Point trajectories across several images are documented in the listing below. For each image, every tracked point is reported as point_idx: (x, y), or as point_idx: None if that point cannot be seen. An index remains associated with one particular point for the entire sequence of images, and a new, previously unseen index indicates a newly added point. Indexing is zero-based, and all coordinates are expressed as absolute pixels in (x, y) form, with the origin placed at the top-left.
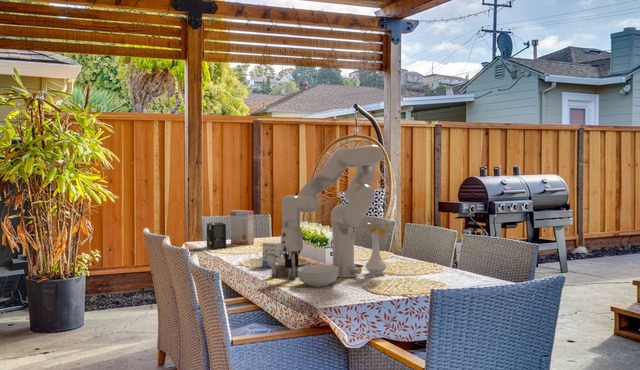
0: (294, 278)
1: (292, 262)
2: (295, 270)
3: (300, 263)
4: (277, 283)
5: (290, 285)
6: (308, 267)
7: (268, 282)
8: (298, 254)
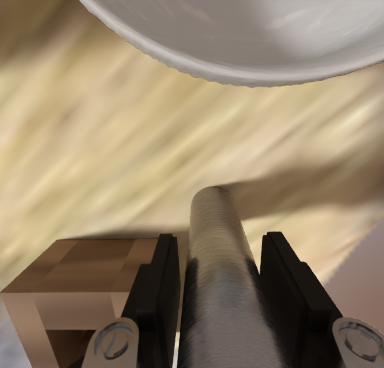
0: (214, 191)
1: (251, 273)
2: (125, 266)
3: (17, 318)
4: (340, 210)
5: (363, 101)
6: (190, 49)
7: (337, 263)
8: (100, 364)
